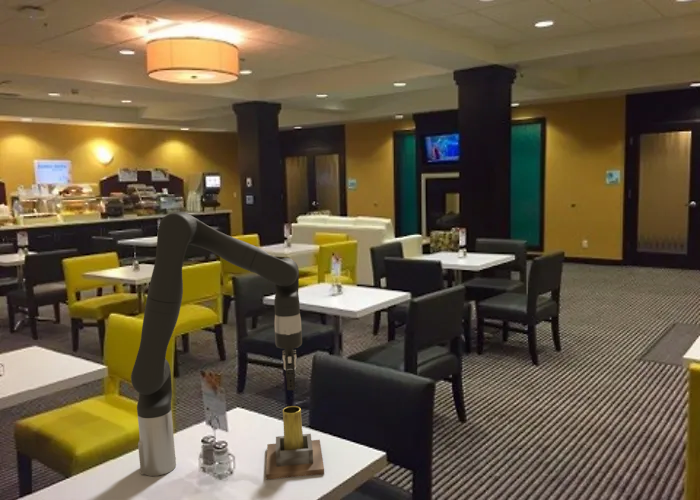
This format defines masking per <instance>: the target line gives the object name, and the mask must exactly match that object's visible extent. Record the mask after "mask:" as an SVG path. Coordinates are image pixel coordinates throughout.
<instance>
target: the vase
mask: <svg viewBox="0 0 700 500" xmlns="http://www.w3.org/2000/svg"><path fill="white" fill-rule="evenodd" d="M282 420H283V421H282V423H283V436H284V451H285V450H296V449H304V444H303V434H304V433H303V423H302V422H303V420H302V409H301V407H299V406H296V405H291V406H286V407H284V408H283V409H282Z"/></svg>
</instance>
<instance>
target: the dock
mask: <svg viewBox="0 0 700 500" xmlns="http://www.w3.org/2000/svg"><path fill="white" fill-rule="evenodd" d="M303 444H304V449H296V450H285V451H284V435H279V436H275V443H268V444H267V446H266V447H267V449H266V450H267V451H266V466H265V467H266V468H265V470H266V471H265V472H266V473H265V475H266V476H265V477H266V480H267V481H268V480H277V479H285V478H287V479H288V478H297V477H308V476H317V475H319V476H320V475H325V466H324V458H323V453H322V452H323V451H322V447H321V446H322V445H321V440H320V439H312V435H311V433H305V434H304V433H303Z"/></svg>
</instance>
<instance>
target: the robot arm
mask: <svg viewBox="0 0 700 500" xmlns="http://www.w3.org/2000/svg"><path fill="white" fill-rule="evenodd" d="M157 228H158V229H157V237H156V239H157V240H156V254H155V261H154V266H153V270H152V274H151V277H150V282H149V286H148V291H147V296H146V301H145V307H144V312H143V320H142V327H141V336H140V343H139V347H138V351H137V354H136V357H135V361H134V364H133V367H132V370H131V373H130V382H131V384H132V386H133V388H134V390H135V391H136V392H137V393H139V394H138V400H137V405H136V413H137V423H138V424H137V425H138V432H139V433H138V434H139V440H138V443H137V447H138V457H139V467H140V475H145V476H146V475H147V476H151V477H157V476H163V475H166V474H169V473H170V472H172V471H173V470H174V469H175V468H176V466H177V461H176V460H177V458H176V450H175V449H176V448H175V439H174V438H175V437H174V425H173V424H174V423H173V413H172V399H173V387H172V386H173V385H172V371H171V367H170V363H169V361H168V360H167V358H166V356H167V350H168V346H169V343H170V342H171V341H170V340H171V338H172V335H173V333H174V330H175V327H176V325H177V323H178V322H177V321H178V319H179V315H180V312H181V307H182V301H183V293H184V290H183V289H184V283H183V282H184V280H183V264H184V260H185V256H186V251H187V249H188V246H190V245H191V246H192V247H198V248H201V249H204V250H206V251H209V252H211V253H212V254H215V255H216V256H218V257H220V258H222V259H223V260H225V261H226V262H228V263H230V264H231V265H234V266H236V267H238V268H240V269H243V270H246V271H248V272H251V273H254V274H257V275H258V276H259V277H262V278H263V279H265V280H267V281H268V282H270V283H272V284H274V288H275V294H274V302H273V303H274V337H275V338H274V339H275V340H274V341H275V342H274V343H275V346H276V348H279V349H281V350H282V349H283V350H282V355H281V356H282V362H283V370H285V379H286V390H287V391H294V390H296V384H295V383H296V381H295V379H296V378H295V377H296V372H295V371H296V369H297V350H296V348H299V347H301V346H302V344H303V335H302V333H303V331H302V317H301V311H300V310H301V309H300V308H301V307H300V296H299V283H300V281H299V278H300V272H299V266H298V263H297V262H296V261H295V260H294V259H291V258H290V257H283V258H279V257H276V256H273V255H272V254H269V253H268V251H266V250H264V249H263V248H261V247H259V246H255V245H254V244H250V243H249V242H246V241H244V240H242V239H241V240H240V239H239V238H237V237H233V236H230V235H229V234H228V235H227V234H225V233H223V232H222V231H219V230H217V229H215V228H213V227H211V226H209V225H207V224H206V223H204V222H203V221H201V220H199V219H198V218H196V217H194V216H193V215H191V214H189V213H188V212H185V211H174V212H170V213H168V214H167V215H166V214H165V216H163V217H162V219H161V220H160V222H159V224H158V227H157Z"/></svg>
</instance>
